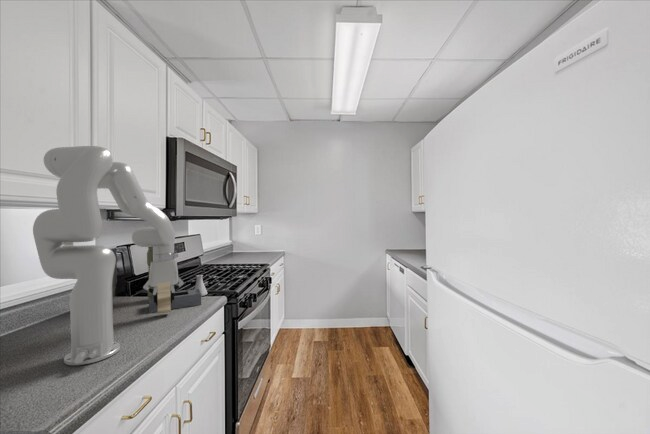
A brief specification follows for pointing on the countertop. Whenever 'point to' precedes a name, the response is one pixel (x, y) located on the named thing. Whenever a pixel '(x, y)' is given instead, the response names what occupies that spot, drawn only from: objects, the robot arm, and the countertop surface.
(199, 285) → the flask
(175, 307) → the rail
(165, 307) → the peg
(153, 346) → the countertop surface
